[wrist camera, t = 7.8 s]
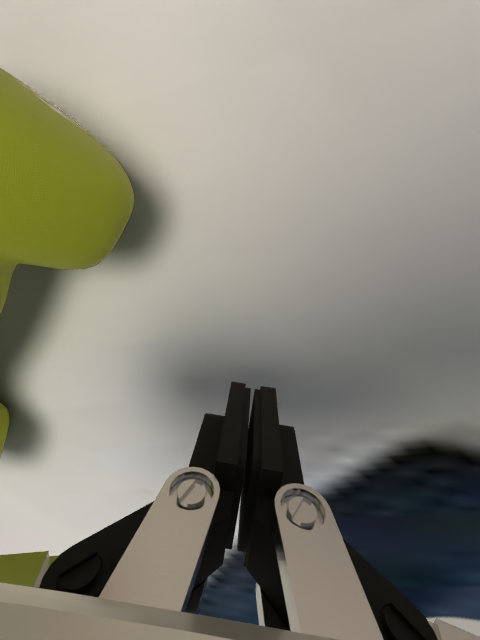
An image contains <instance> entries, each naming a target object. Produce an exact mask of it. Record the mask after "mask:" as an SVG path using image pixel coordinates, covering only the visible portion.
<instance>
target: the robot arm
mask: <svg viewBox="0 0 480 640" xmlns="http://www.w3.org/2000/svg"><path fill="white" fill-rule="evenodd" d="M245 386H246V384H244V383H237V382H232V383H231V388H230V393H229V398H228V403H227V408H226V413H225V416H220V415H214V414H207V413H206V414H205V416H204V419H203V422H202V426H201V429H200V432H199V435H198V438H197V442H196V445H195V448H194V451H193V455H192V458H191V461H190V464H189V467H186V468H183V469H180V470H177V471H176V472H175V473H173V474H172V475H170V477H169V478H168V479H167V480H166V482H165V483H164V485H163V487H162V489H161V490H160V492H159V494H158V496H157V497H156V499H155V501H153V502H152V503H150V504H148V505H146V506H144V507H143V508H141V509H139V510H137V511H135V512H133V513H132V514H130V515H128V516H126V517H124V518H122V519H121V520H119V521H117V522H115V523H113V524H111V525H110V526H108V527H106V528H104V529H102V530H101V531H99V532H97V533H95V534H93V535H91V536H90V537H88V538H86V539H84V540H82V541H80V542H79V543H77V544H75V545H73V546H72V547H70V548H69V549H67V550H66V551H64V552H63V553H61V554H60V555H59V556H49V551H45V552H33V553H21V554H9V555H0V640H480V637H479V636H476V635H474V634H472V633H470V632H467V631H465V630H463V629H460V628H458V627H456V626H453V625H451V624H448V623H446V622H444V621H441V620H439V619H437V618H436V619H435V621H434V623H432V622H430V621H427V619H426V618H425V616H424V615H423V614H422V613H421V612H420V611H419V610H418V609H417V608H416V606H415V605H414V604H413V603H412V602H410V601H409V600H408V599H407V598H406V597H405V596H404V595H403V594H402V593H401V592H400V591H399V590H398V589H397V588H395V587H394V586H393V585H392V584H391V583H390V582H389V581H388V580H387V579H386V578H385V577H384V576H383V575H381V574H380V573H379V572H378V571H377V570H376V569H375V568H374V567H373V566H372V565H371V564H370V563H369V562H368V561H366V560H365V559H364V558H363V557H362V556H361V555H360V554H359V553H358V552H357V551H356V550H355V549H354V548H352V547H351V546H350V545H349V544H348V543H347V542H346V541H345V540H344V539H343V538H342V536H341V534H340V531H339V529H338V526H337V524H336V521H335V519H334V516H333V514H332V512H331V509H330V507H329V505H328V504H327V502H326V500H325V499H324V498H323V497H322V496H321V495H320V494H319V493H318V492H317V491H315V490H314V489H312V488H310V487H308V486H306V485H304V482H303V476H302V470H301V464H300V459H299V453H298V447H297V441H296V436H295V430H294V428H293V427H290V426H284V425H279V418H278V408H277V398H276V389H275V388H270V387H263V386H261V388H260V390H258V389H255V392H254V398H253V404H252V410H251V416H250V422H249V408H250V392H251V388H245ZM248 423H249V428H248ZM241 491H242V492H241ZM240 497H241V505H240V519H239V532H238V546H237V551H243V552H244V562H243V566H246V567H247V570H248V571H249V573H250V574H251V575H252V577H253V578H254V579H255V581H256V599H257V608H258V617H259V625H254V624H248V623H243V622H237V621H231V620H226V619H220V618H214V617H208V616H203V615H198V613H199V610H200V606H201V603H202V599H203V596H204V592H205V589H206V585H207V578H208V576H209V575H211V574H212V573H213V572H214V571H215V570H217V569H218V568H219V567H220V566H221V565H223V560H224V553H225V548H226V549H232V544H233V538H234V532H235V526H236V520H237V515H238V509H239V503H240Z"/></svg>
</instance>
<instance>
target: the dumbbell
mask: <svg viewBox="0 0 480 640" xmlns="http://www.w3.org/2000/svg"><path fill="white" fill-rule="evenodd" d="M133 208H134V193H133V189H132V185H131V183H130V181H129V178H128V176H127V175H126V173H125V171H124V169H123V168H122V166H121V165H120V163H119V162H118V161H117V160H116V159H115V157H114V156H113V155H112V154H111V153H110V152H109V151H108V150H107V149H106V148H105V147H104V146H102V145H101V144H100V143H99V142H98V141H97V140H96V139H95V138H94V137H92V136H91V135H90V134H89V133H88V132H87V131H85V130H84V129H83V128H82V127H81V126H79V125H78V124H77V123H76V122H75V121H73V120H72V119H71V118H70V117H68V116H67V115H66V114H65V113H63V112H62V111H61V110H59V109H58V108H57V107H55V106H54V105H53V104H51V103H50V102H49V101H47V100H46V99H45V98H43V97H42V96H40V95H39V94H38V93H36V92H35V91H33V90H32V89H31V88H29V87H28V86H26V85H25V84H23V83H22V82H21V81H19V80H18V79H16V78H15V77H13V76H12V75H10V74H9V73H7V72H6V71H5V70H3V69H2V68H0V314H1V311H2V309H3V306H4V303H5V300H6V297H7V294H8V290H9V286H10V282H11V278H12V274H13V272H14V269H15V267H16V266H17V264H29V265H36V266H43V267H49V268H57V269H86V268H89V267H92V266H95V265H97V264H99V263H100V262H101V261H102V260H104V259H105V258H106V257H107V256H108V254H109V253H110V252H111V251H112V249H113V248H114V246H115V245H116V243H117V241H118V240H119V238H120V236H121V234H122V232H123V230H124V228H125V226H126V224H127V222H128V221H129V219H130V216H131V213H132V210H133ZM9 420H10V418H9V413H8V410H7V408H6V407H5V406H4V405H3V404H1V403H0V457H1V454H2V450H3V447H4V444H5V440H6V436H7V432H8V427H9Z"/></svg>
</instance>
